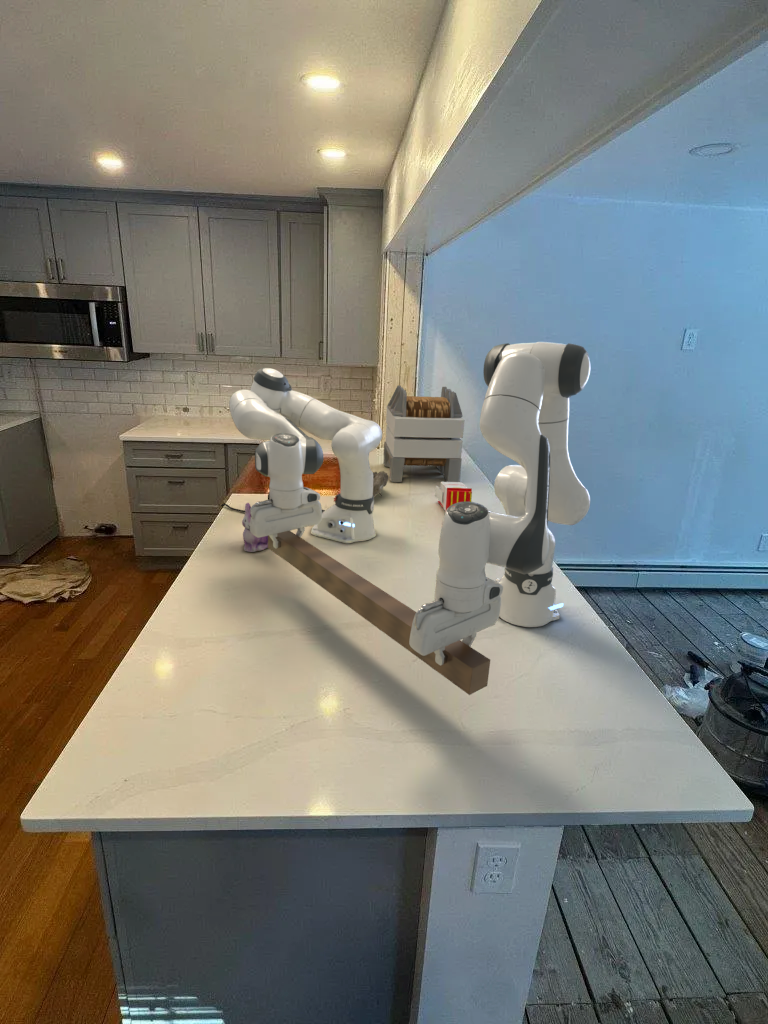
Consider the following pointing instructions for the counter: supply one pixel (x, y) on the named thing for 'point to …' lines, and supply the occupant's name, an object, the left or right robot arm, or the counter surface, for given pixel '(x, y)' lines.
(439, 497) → the red striped box
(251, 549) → the figurine
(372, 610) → the beam
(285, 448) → the left robot arm
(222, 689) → the counter surface
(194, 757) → the counter surface
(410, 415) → the white boxy stand
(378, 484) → the fossil
